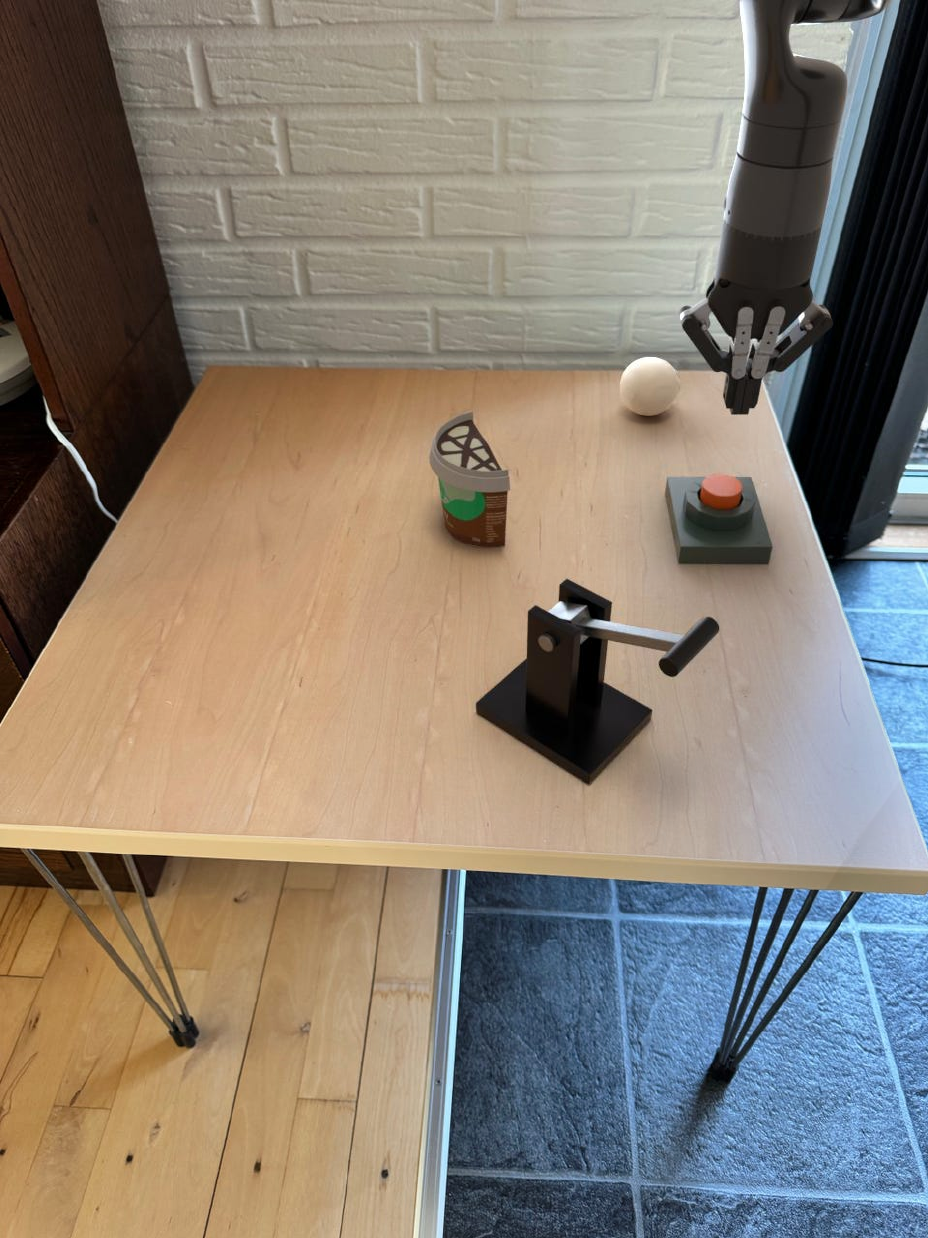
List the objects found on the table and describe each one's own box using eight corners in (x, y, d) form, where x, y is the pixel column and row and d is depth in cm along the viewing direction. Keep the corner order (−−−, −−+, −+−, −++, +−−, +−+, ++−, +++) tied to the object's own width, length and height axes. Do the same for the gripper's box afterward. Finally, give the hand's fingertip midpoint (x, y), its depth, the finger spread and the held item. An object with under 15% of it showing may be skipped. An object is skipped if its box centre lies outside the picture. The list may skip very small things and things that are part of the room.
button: (742, 510, 97) (745, 496, 96) (702, 510, 97) (705, 496, 96) (736, 487, 100) (739, 473, 99) (697, 487, 100) (699, 473, 99)
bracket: (651, 719, 82) (669, 609, 73) (588, 785, 77) (599, 675, 69) (540, 655, 88) (544, 546, 79) (475, 712, 83) (472, 603, 75)
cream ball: (688, 416, 117) (696, 366, 112) (636, 430, 115) (642, 380, 110) (658, 390, 121) (664, 341, 117) (608, 404, 119) (612, 354, 115)
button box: (768, 564, 97) (776, 532, 94) (678, 563, 97) (683, 532, 94) (748, 493, 105) (754, 462, 102) (664, 493, 106) (669, 462, 103)
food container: (419, 498, 106) (414, 419, 99) (472, 487, 107) (470, 408, 101) (452, 566, 98) (448, 485, 91) (509, 553, 99) (510, 472, 92)
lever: (722, 640, 69) (716, 612, 68) (681, 684, 66) (674, 655, 65) (579, 615, 78) (572, 590, 77) (537, 652, 75) (529, 626, 74)
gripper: (693, 234, 73) (668, 432, 85) (872, 231, 72) (822, 432, 84) (682, 198, 78) (660, 389, 90) (848, 195, 77) (804, 388, 89)
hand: (738, 409), depth 87 cm, fingers closed
